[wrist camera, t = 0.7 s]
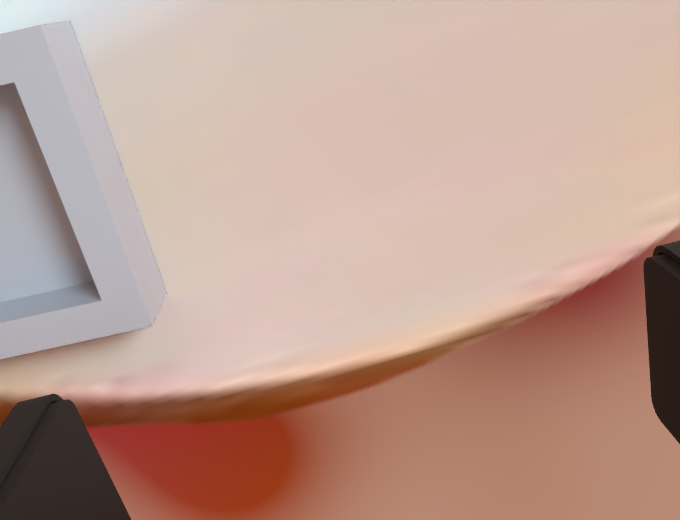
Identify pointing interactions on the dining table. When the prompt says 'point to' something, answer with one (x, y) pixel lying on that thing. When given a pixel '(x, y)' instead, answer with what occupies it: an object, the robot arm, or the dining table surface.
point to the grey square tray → (64, 205)
